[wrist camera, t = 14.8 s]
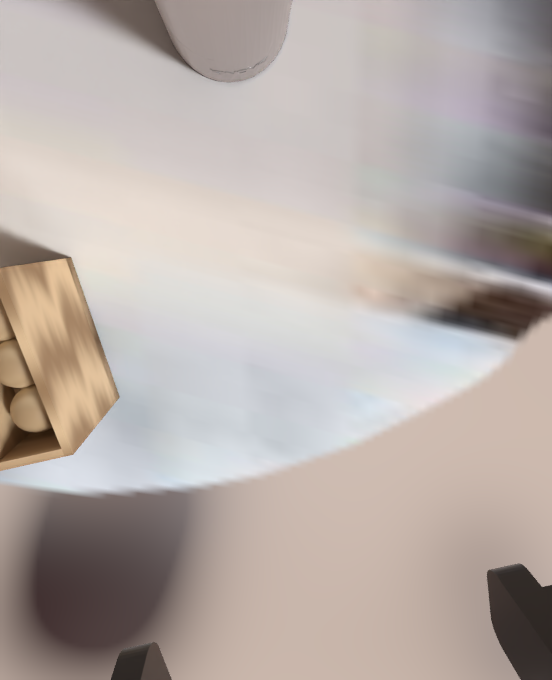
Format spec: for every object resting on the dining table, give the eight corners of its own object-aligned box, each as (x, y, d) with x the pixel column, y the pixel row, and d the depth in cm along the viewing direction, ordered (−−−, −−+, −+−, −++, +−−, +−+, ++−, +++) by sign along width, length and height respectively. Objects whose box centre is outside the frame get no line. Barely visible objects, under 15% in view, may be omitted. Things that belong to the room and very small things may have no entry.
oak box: (4, 272, 34) (-95, 288, 24) (71, 257, 34) (-2, 267, 24) (58, 410, 37) (-9, 472, 28) (119, 397, 37) (72, 454, 28)
